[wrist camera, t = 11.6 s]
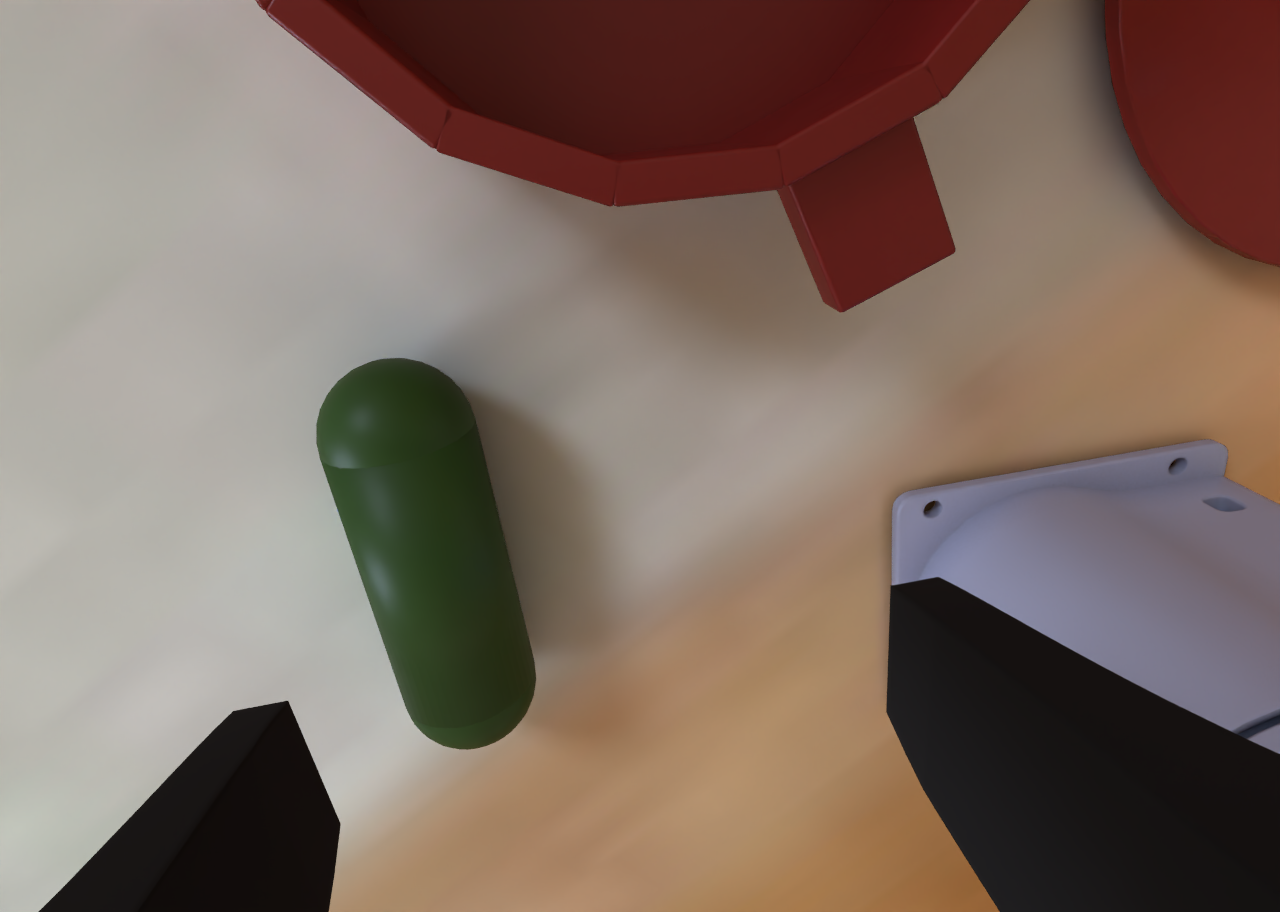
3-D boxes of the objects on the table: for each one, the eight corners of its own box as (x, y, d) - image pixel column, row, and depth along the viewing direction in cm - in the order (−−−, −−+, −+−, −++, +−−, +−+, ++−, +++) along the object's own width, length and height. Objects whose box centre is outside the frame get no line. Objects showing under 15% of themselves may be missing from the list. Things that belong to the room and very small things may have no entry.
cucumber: (321, 353, 17) (269, 401, 14) (465, 330, 17) (446, 371, 14) (432, 696, 21) (411, 790, 18) (547, 675, 22) (546, 765, 18)
